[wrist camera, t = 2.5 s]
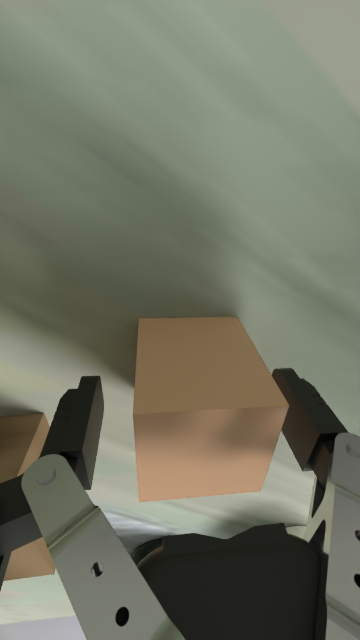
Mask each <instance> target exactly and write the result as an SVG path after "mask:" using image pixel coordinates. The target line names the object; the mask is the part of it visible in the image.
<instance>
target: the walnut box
mask: <svg viewBox="0 0 360 640" xmlns="http://www.w3.org/2000/svg"><path fill="white" fill-rule="evenodd" d="M49 429H50V427H49V424H48V422H47V419H46V417H45V414H44V413H38V414H28V415H17V416H6V417H0V483H2V482H5V481H7V480H10V479H13V478H15V477H18V476H19V475H21V474H23V473H24V472H25V471H26V470H27V468H28V467H29V466H30V465H31V464H32V463H33V462H34V461H36V460H37V459H38V458H39V456H40V454H41V451H42V448H43V446H44V443H45V440H46V437H47V435H48V432H49ZM55 568H56V567H55V565H54V562H53V560H52V558H51V555H50V553H49V550H48V548H47V545H46V543H45V541H44V538H43V537H41V538H39V539H37V540H35V541H33V542H31V543H29V544H26V545H24V546H22V547H20V548H18V549H16V550H14V551H12V553H11V556H10V559H9V563H8V566H7V570H6V573H5V577H4V580H3V581H6V580H13V579H20V578H28V577H35V576H42V575H50V574H54V572H55Z"/></svg>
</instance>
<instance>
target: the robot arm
mask: <svg viewBox="0 0 360 640" xmlns="http://www.w3.org/2000/svg"><path fill="white" fill-rule="evenodd" d="M272 377H273V379H274V380H275V382H276V384H277V386H278V387H279V389H280V391H281V392H282V394H283V396H284V398H285V399H286V401H287V403H288V404H289V408H288V411H287V414H286V417H285V420H284V423H283V426H282V429H281V430H282V432H283V434H284V436H285V438H286V440H287V442H288V444H289V446H290V448H291V450H292V452H293V454H294V455H295V457H296V459H297V461H298V463H299V465H300V467H301V469H302V471H314V473H315V475H316V477H315V480H314V484H313V491H312V497H311V503H310V510H309V516H308V522H307V526H306V529H305V532H304V535H303V538H300V537H298V536H295V535H292V534H289V533H287V531H286V528H285V525H284V523H279V524H270V525H261V526H254V527H252V528H250V529H248V530H246V531H244V532H242V533H240V534H238V535H236V536H234V537H232V538H229V539H221V538H216V537H211V536H206V535H200V534H195V533H190V534H182V535H173V536H164V537H163V546H162V547H160V548H158V549H156V550H154V551H153V552H151V553H150V554H148V555H147V556H146V557H145V558H144V559H142V560H141V561H140V562H139V564H138V565H137V566H136V565H135V563H134V562H133V560H132V558H131V557H130V555H129V554H128V552H127V550H126V549H125V547H124V546H123V544H122V542H121V541H120V539H119V538H118V536H117V534H116V533H115V531H114V530H113V528H112V526H111V525H110V523H109V522H108V520H107V518H106V517H105V515H104V514H103V512H102V511H101V509H100V508H99V507H98V506H95V505H94V504H93V503H92V501H91V499H90V498H89V496H88V495H87V493H86V491H85V490H91V486H92V480H93V474H94V468H95V462H96V456H97V450H98V444H99V438H100V431H101V425H102V419H103V413H104V400H103V392H102V385H101V378H100V376H82V377H81V380H80V383H79V387H78V389H69V390H68V391H67V392H66V393H65V394H64V395H63V396H62V397H61V399H60V401H59V404H58V407H57V411H56V412H55V415H54V418H53V421H52V423H51V426H50V429H49V432H48V435H47V437H46V440H45V443H44V446H43V448H42V451H41V454H40V456H39V458H38V459H37V460H36V461H34V462H33V463H32V464H31V465H30V466H29V467H28V468H27V470H26V471H25V472H24V473H23V474H21V475H19V476H18V477H15V478H13V479H10V480H7V481H5V482H2V483H0V590H1V587H2V583H3V580H4V577H5V573H6V570H7V566H8V563H9V559H10V556H11V553H12V551H14V550H16V549H18V548H20V547H22V546H24V545H26V544H29V543H31V542H33V541H35V540H37V539H39V538H41V537H43V538H44V541H45V543H46V545H47V548H48V550H49V553H50V555H51V558H52V560H53V562H54V565H55V567H56V569H57V572H58V574H59V576H60V578H61V581H62V583H63V585H64V588H65V590H66V592H67V595H68V597H69V599H70V602H71V604H72V606H73V609H74V611H75V613H76V616H77V618H78V620H79V623H80V625H81V627H82V630H83V632H84V634H85V637H86V639H87V640H360V437H359V436H357V435H354V434H351V433H348V431H347V430H346V429H345V427H344V426H343V425H342V423H341V422H340V421H339V419H338V418H337V417H336V415H335V414H334V413H333V411H332V410H331V409H330V407H329V406H328V405H326V402H325V401H324V400H323V398H322V397H320V394H319V393H318V392H317V390H316V389H315V388H314V386H312V385H311V384H310V383H309V382H307V381H306V380H305V379H300V378H299V377H298V375H297V374H296V373H295V371H294V370H293V369H292V368H282V369H274V371H273V374H272Z"/></svg>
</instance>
